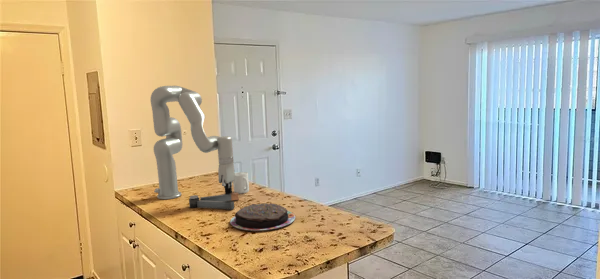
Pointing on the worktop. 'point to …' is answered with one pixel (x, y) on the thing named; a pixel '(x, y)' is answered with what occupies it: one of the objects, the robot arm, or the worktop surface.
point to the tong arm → (218, 197)
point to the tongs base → (211, 204)
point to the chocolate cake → (262, 217)
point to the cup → (241, 182)
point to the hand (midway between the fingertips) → (228, 194)
